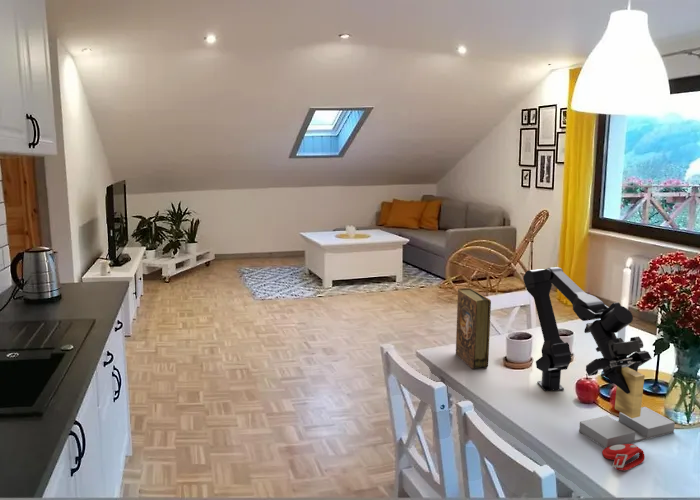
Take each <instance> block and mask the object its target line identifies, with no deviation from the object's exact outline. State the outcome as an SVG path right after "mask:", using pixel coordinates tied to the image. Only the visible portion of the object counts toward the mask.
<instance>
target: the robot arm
mask: <svg viewBox="0 0 700 500" xmlns="http://www.w3.org/2000/svg"><path fill="white" fill-rule="evenodd" d="M522 277H523V283H524V286H525V289H526V291H527V292H528V294H529V295H530V296H532V298H533V300H534V303H535V304H534V305H535V309H536V313H537V316H538V321H539V325H540V328H541V329H540V330H541V334H542V337H543V344H542V347H541V356H540V357H539V358H538V359H537V360H535V365H536V366H535V367H536V368H537V370H539V371H541V380H538V381H537V384H538V385H539V387H540V388H541V389H543V391H545V392H546V391H548V392H549V391H551V392H552V391H564V390H565V387H563V386H562V385H561V374H562V371H564V370H568V368H569V365H570V363H571V362H572V355H573V354H572V351H571V349H570V344H569V342H565V341H564V340H562V338H561V337H560V333H559V328H558V325H557V320H556V316H555V312H554V307H553V304H552V301H551V297H550V294H551V290H552V288H553V287H552V286H554V287H555V288H556V289H557V290H558V291H559V292H560V293H561V294H562V295H563V296H564V297H565V298H566V299H567V300H568V301H569V302H570V303H571V305H572V310H573V312H574V313H575V315H576V316H577V317H578V319H579V320H581V321H582V322H588V321H593V322H590V323H589V322H588V323H585V324H586V325H585V328H584V333H585V334H588V333H589V334H591V336H592V338H593V340H594V341H595V344H596V346H597V347H596V348H595V351H596V352H597V353H598V352H599V353H601V356H602V357H600V358H596V359H594V360H592V361H591V362H590V363H588V364H586V365H585V371H586V373H587V376H588V377H592V376H596V375H598V373H599V371H600V370H602V372H603V373H602V374H600V375H601V377H602V378H603V377H604V378H606V379H607V380H609V381H610V382H612V383H613V384H614V385H615V386H616V387H617V386H618V387H619V388H620V389H622V390H623V391H624V392H625V393H626V394H628V393H630V390H629V387H628V385H627V383H626V381H625V379H624V377H623V375H622V368H623V367H629V368H631V369H633V370H635V371H637V372H638V370H639V369H638V368H639V367H641V366H642V365H644V364H646V363H647V362H649V361H650V360H652V356H651V354H650V353H649V351H646V350H641V349H643V348H644V342H643V340H642V338H641V337H640V336H634V337H630V338H629V340H628V341H624V340H623V338H622V337H619V338H618V337H617V335H616V333H619V332H620V331H621V330H623V329H625V328H626V327H627V326H629V325H630V324H631V323H633V321H634V317H633V314H632V312H631V311H630V310H629V309H628V308H626V307H625V306H623V305H621V304H620V302H619V301H617V302H613V303H612V304H610V306H608V305H606V304H605V303H604V302H603V301H602V300H601V299H599V298H598V297H596V296H595V295H594V294H593V295H592V294H589V293H586V292H585V291H584V290H583V289H582V288H581V287H579V285H577V284H576V282H574V281H573V280H572V279H571V278H570V277H569V276H568V275H567V274H566V273H565V272H564V270H563V268H561V267H558V266H556V267H555V266H554V267H547V268H546V269H545V268H539V269H531V270H527V271H525V272H524V275H523V276H522Z"/></svg>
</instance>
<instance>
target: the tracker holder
mask: <svg viewBox="0 0 700 500" xmlns="http://www.w3.org/2000/svg"><path fill="white" fill-rule="evenodd" d="M602 455H603V456H602V457H604V458H605V459H607V460H612V461H613V460H614V461H613V463H612V466H611V467H613V468H615V469H616V470H618V471H629V470H631V469H633V468H634V467H636V466H638V465H640V464H642V463H643V462H644V461H645V458H646V455H645V452H644V449H642V448H640V446H637V445H635V444H634V443H629V444H616V445H612V446H609V447H606V448H604V449H602ZM636 455H638V457H637V458H635V459H633V460H632V461H630V462H628V463H626V462H627V461H629V460H630V459H632V458H633V457H634V456H636Z"/></svg>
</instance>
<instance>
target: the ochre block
mask: <svg viewBox="0 0 700 500" xmlns="http://www.w3.org/2000/svg"><path fill="white" fill-rule="evenodd" d="M622 375H623V377H624V379H625V381H626V383H627V385H628V387H629V390H630V393H628V394H626V393H625V392H624V391H623V390H622V389H620V388H619V387H618V386H617V385H616V389H615V390H616V391H615V402H614V410H616V411H617V412H619V413H620V412H621V413H623V414H625V415H627V416H628V417H630V418H636V417H640V413H641V407H642V402H643V396H644V395H643V393H644V385H645V374H643V373H641V372H638V370H637V371H635V370H633V369H631V368H629V367H622Z"/></svg>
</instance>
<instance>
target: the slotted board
mask: <svg viewBox="0 0 700 500" xmlns="http://www.w3.org/2000/svg"><path fill="white" fill-rule="evenodd" d="M675 422H676V421H673V420H671V419H669V418H667V417H666V416H664V415H662V414H660V413H658V412H656V411H654V410H652V409H651V408H648V407H647V406H641V413H640V417H636V418H630V417H628V416H627V415H625V414H623V413H621V412H620V411H619V415H618V420H616V419H615V418H612V417H611V416H609V415H602V416H598V417H594V418H590V419H585V420H581V421H579V428H578V432H579V433H581V434H582V435H583V436H585V437H587V438H588V439H590V440H591V441H593V442H595V443H596V444H598V445H599V446H600V447H602V448H604V449H605V448H606V447H609V446H612V445H616V444H634V443H637V442H640V441H641V442H642V441H644V440H648V439H652V438H655V437H660V436H664V435H668V434H672V433H674V432H675V424H676V423H675Z"/></svg>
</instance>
